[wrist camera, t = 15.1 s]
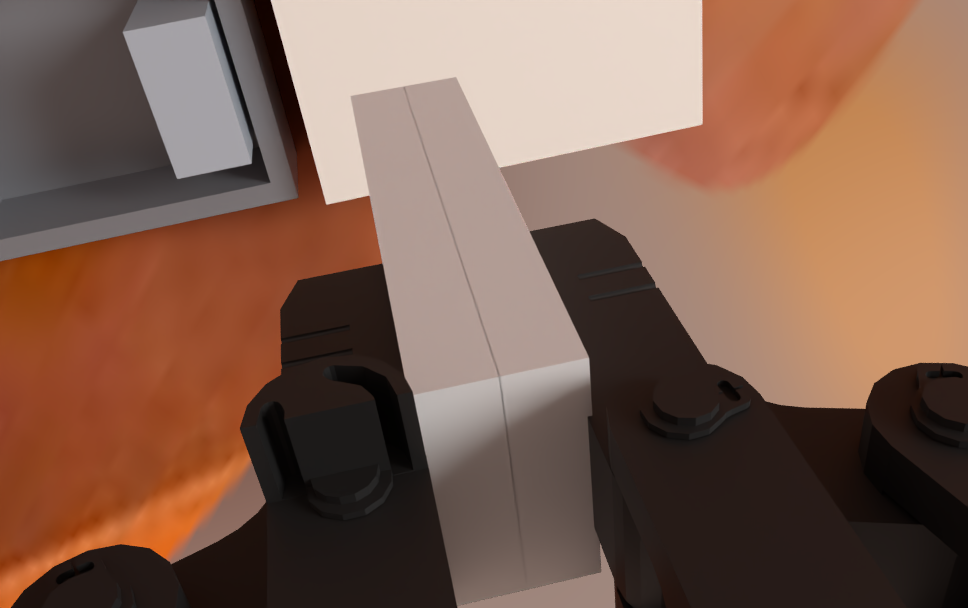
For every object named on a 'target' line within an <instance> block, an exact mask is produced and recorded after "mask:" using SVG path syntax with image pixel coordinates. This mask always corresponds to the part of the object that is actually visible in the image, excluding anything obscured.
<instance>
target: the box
mask: <svg viewBox="0 0 968 608" xmlns="http://www.w3.org/2000/svg"><path fill="white" fill-rule="evenodd" d="M137 1H138V0H0V261H3V260H8V259H12V258H17V257H22V256H26V255H31V254H36V253H41V252H45V251H50V250H55V249H60V248H64V247H69V246H74V245H78V244H83V243H88V242H93V241H97V240H102V239H107V238H111V237H116V236H121V235H126V234H130V233H135V232H140V231H144V230H149V229H154V228H159V227H163V226H168V225H173V224H178V223H182V222H187V221H192V220H196V219H201V218H206V217H211V216H215V215H220V214H225V213H229V212H234V211H239V210H244V209H248V208H253V207H258V206H262V205H267V204H272V203H277V202H281V201H286V200H291V199H296V198H298V173H297V152H296V148H295V145H294V141H293V138H292V134H291V131H290V127H289V124H288V120H287V117H286V113H285V110H284V106H283V102H282V99H281V95H280V92H279V88H278V85H277V81H276V78H275V74H274V71H273V67H272V64H271V60H270V57H269V53H268V49H267V46H266V42H265V39H264V35H263V32H262V28H261V25H260V21H259V18H258V14H257V11H256V7H255V4H254V0H214V1H215V4H216V7H217V10H218V14H219V17H220V20H221V23H222V27H223V30H224V33H225V36H226V40H227V43H228V46H229V49H230V53H231V56H232V59H233V62H234V66H235V69H236V72H237V75H238V79H239V82H240V85H241V88H242V92H243V95H244V98H245V101H246V105H247V108H248V111H249V114H250V118H251V121H252V124H253V127H254V134H253V150H252V164H248V165H243V166H238V167H233V168H228V169H223V170H219V171H214V172H209V173H204V174H199V175H195V176H190V177H185V178H180V179H177V177H176V174H175V172H174V169H173V166H172V164H171V161H170V158H169V156H168V153H167V150H166V148H165V145H164V142H163V139H162V137H161V134H160V131H159V129H158V126H157V123H156V121H155V118H154V115H153V113H152V110H151V107H150V104H149V102H148V99H147V96H146V94H145V91H144V88H143V86H142V83H141V80H140V77H139V75H138V72H137V69H136V67H135V64H134V61H133V59H132V56H131V53H130V51H129V48H128V45H127V42H126V40H125V37H124V34H123V30H124V28H125V26H126V24H127V22H128V20H129V18H130V16H131V14H132V12H133V10H134V7H135V5H136V3H137Z"/></svg>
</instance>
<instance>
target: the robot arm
mask: <svg viewBox="0 0 968 608" xmlns="http://www.w3.org/2000/svg"><path fill="white" fill-rule="evenodd" d="M351 102H352V107H353V112H354V117H355V122H356V127H357V133H358V138H359V143H360V148H361V153H362V159H363V164H364V169H365V174H366V179H367V184H368V190H369V195H370V200H371V205H372V210H373V215H374V221H375V226H376V231H377V236H378V241H379V247H380V252H381V257H382V262H383V264H378V265H373V266H368V267H363V268H358V269H353V270H348V271H343V272H338V273H333V274H328V275H323V276H318V277H313V278H308V279H303V280H298V281H297V283H296V285H295V286H294V288H293V289H292V291H291V293H290V294H289V296H288V298H287V299H286V301H285V302H284V304H283V306H282V307H281V309H280V317H281V341H282V344H281V364H282V369H281V375H280V376H278V377H277V378H275V379H274V380H272V381H270V382H269V383H267V384H266V385H265V386H264V387H263V388H262V389H261V390H260V392H259V393H258V394H257V395H256V396H255V397H254V398H253V399H252V401H251V402H250V403H249V404H248V405H247V408H246V411H245V414H244V417H243V420H242V423H241V426H240V430H241V433H242V436H243V439H244V441H245V444H246V447H247V450H248V453H249V455H250V458H251V461H252V464H253V466H254V469H255V472H256V474H257V477H258V480H259V483H260V486H261V488H262V491H263V494H264V496H265V499H266V503H265V504H264V505H263V507H262V508H261V509H260V510H259V512H258V513H257V514H256V515H254V516H253V517H252V518H251V519H250V520H249V521H247V522H246V523H245V524H244V525H243V526H242V527H240V528H239V529H238V530H236V531H234V532H233V533H231V534H229V535H228V536H226V537H224V538H223V539H221V540H220V541H218V542H216V543H214V544H212V545H210V546H208V547H206V548H204V549H202V550H200V551H198V552H196V553H194V554H192V555H190V556H187V557H185V558H183V559H181V560H179V561H177V562H175V563H173V564H170V562H169V561H167V560H166V559H164V558H163V557H161V556H160V555H159V554H157V553H156V552H154V551H153V550H151V549H150V548H144V547H137V546H129V545H122V544H120V545H115V546H110V547H104V548H99V549H94V550H89V551H86V552H84V553H82V554H80V555H78V556H76V557H73V558H71V559H69V560H67V561H65V562H63V563H61V564H59V565H56V566H54V567H53V568H52V569H50V570H49V571H48V572H47V573H45V574H44V575H43V576H42V577H40V578H39V579H38V580H37V581H35V582H34V583H33V584H32V585H30V586H29V587H28V588H27V589H25V590H24V591H23V593H22V594H21V595H20V596H19V598H18V599H17V600H16V602H15V603H14V604H13V606H12V607H11V608H457V606H459V605H464V604H467V603H472V602H476V601H480V600H485V599H489V598H493V597H498V596H502V595H506V594H510V593H515V592H519V591H523V590H527V589H532V588H536V587H540V586H544V585H549V584H553V583H557V582H561V581H566V580H570V579H574V578H578V577H583V576H587V575H591V574H595V573H600V572H601V559H600V543H601V545H602V549H603V551H604V554H605V557H606V559H607V562H608V564H609V567H610V569H611V572H612V575H613V577H614V586H615V608H968V367H967V366H962V365H958V364H954V363H918V364H914V365H910V366H906V367H902V368H899V369H895V370H892V371H891V372H890V373H888V374H887V375H885V376H884V377H883V378H881V379H880V380H879V381H877V382H876V383H874V385H873V388H872V390H871V393H870V395H869V398H868V400H867V403H866V409H844V408H804V407H794V406H783V405H777V404H773V403H770V402H766V401H765V400H764V399H763V398H762V396H761V395H760V393H758V392H757V391H756V390H755V389H754V388H753V387H752V386H751V385H750V384H749V383H748V382H747V381H746V380H745V379H744V378H743V377H741V376H739V375H736V374H734V373H732V372H730V371H728V370H726V369H724V368H721V367H719V366H717V365H711V364H707V362H706V361H705V360H704V358H703V356H702V355H701V353H700V352H699V350H698V349H697V347H696V345H695V344H694V342H693V341H692V339H691V338H690V336H689V335H688V333H687V332H686V330H685V328H684V327H683V325H682V324H681V322H680V321H679V319H678V317H677V316H676V314H675V313H674V311H673V310H672V308H671V307H670V305H669V303H668V302H667V300H666V299H665V297H664V296H663V295H662V293H661V291H660V290H659V288H656V286H655V282H654V280H653V279H652V277H651V275H650V274H649V273H648V271H647V269H646V268H645V267H643V266H642V262H641V260H640V258H639V257H638V255H637V254H636V252H635V251H634V249H633V248H632V246H631V244H630V243H629V242H628V240H627V238H626V237H625V236H623V235H621V234H620V233H618V232H617V231H615V230H613V229H612V228H610V227H608V226H606V225H605V224H603V223H601V222H600V221H598V220H596V219H590V220H585V221H580V222H575V223H570V224H565V225H560V226H555V227H550V228H545V229H540V230H534V231H529V230H528V228H527V226H526V224H525V221H524V219H523V217H522V215H521V214H520V211H519V209H518V207H517V205H516V202H515V200H514V198H513V196H512V194H511V192H510V190H509V188H508V186H507V183H506V181H505V179H504V177H503V175H502V173H501V171H500V169H499V166H498V164H497V162H496V160H495V158H494V156H493V154H492V152H491V150H490V147H489V145H488V143H487V141H486V139H485V137H484V135H483V133H482V131H481V128H480V126H479V124H478V122H477V120H476V118H475V116H474V114H473V112H472V109H471V107H470V105H469V103H468V101H467V99H466V97H465V95H464V93H463V90H462V88H461V86H460V84H459V82H458V80H457V78H456V77H453V78H448V79H442V80H437V81H431V82H425V83H420V84H414V85H409V86H403V87H398V88H392V89H387V90H381V91H375V92H370V93H364V94H359V95H353V96H351Z"/></svg>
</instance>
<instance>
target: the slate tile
mask: <svg viewBox="0 0 968 608" xmlns="http://www.w3.org/2000/svg"><path fill="white" fill-rule="evenodd" d="M123 34H124V37H125V40H126V42H127V45H128V48H129V51H130V53H131V56H132V59H133V61H134V64H135V67H136V69H137V72H138V75H139V77H140V80H141V83H142V86H143V88H144V91H145V94H146V96H147V99H148V102H149V104H150V107H151V110H152V113H153V115H154V118H155V121H156V123H157V126H158V129H159V131H160V134H161V137H162V139H163V142H164V145H165V148H166V150H167V153H168V156H169V158H170V161H171V164H172V166H173V169H174V172H175V174H176V177H177V179H180V178H185V177H190V176H195V175H199V174H204V173H209V172H214V171H219V170H223V169H228V168H233V167H238V166H243V165H248V164H252V150H253V134H254V127H253V124H252V121H251V118H250V114H249V111H248V108H247V105H246V101H245V98H244V95H243V92H242V88H241V85H240V82H239V79H238V75H237V72H236V69H235V66H234V62H233V59H232V56H231V53H230V49H229V46H228V43H227V40H226V36H225V33H224V30H223V27H222V23H221V20H220V17H219V14H218V10H217V7H216V4H215V1H214V0H138V1H137V3H136V5H135V7H134V10H133V12H132V14H131V16H130V18H129V20H128V22H127V24H126V26H125V28H124V30H123Z"/></svg>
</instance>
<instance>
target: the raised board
mask: <svg viewBox="0 0 968 608" xmlns="http://www.w3.org/2000/svg"><path fill="white" fill-rule="evenodd" d="M271 3H272V6H273V10H274V14H275V17H276V21H277V25H278V28H279V32H280V36H281V39H282V43H283V47H284V50H285V54H286V58H287V61H288V65H289V69H290V72H291V76H292V80H293V83H294V87H295V91H296V95H297V98H298V102H299V106H300V109H301V113H302V117H303V120H304V124H305V128H306V131H307V135H308V139H309V142H310V146H311V150H312V153H313V157H314V161H315V164H316V168H317V172H318V175H319V179H320V183H321V186H322V190H323V194H324V197H325V201H326V205H327V204H332V203H336V202H341V201H346V200H350V199H355V198H360V197H364V196H369V190H368V184H367V179H366V174H365V169H364V164H363V159H362V153H361V148H360V143H359V138H358V133H357V127H356V122H355V117H354V112H353V107H352V102H351V96H353V95H359V94H364V93H370V92H375V91H381V90H387V89H392V88H398V87H403V86H409V85H414V84H420V83H425V82H431V81H437V80H442V79H448V78H453V77H456V78H457V80H458V82H459V84H460V86H461V88H462V90H463V93H464V95H465V97H466V99H467V101H468V103H469V105H470V107H471V109H472V112H473V114H474V116H475V118H476V120H477V122H478V124H479V126H480V128H481V131H482V133H483V135H484V137H485V139H486V141H487V143H488V145H489V147H490V150H491V152H492V154H493V156H494V158H495V160H496V162H497V164H498V166H499V168H500V167H505V166H510V165H515V164H520V163H524V162H528V161H534V160H538V159H543V158H548V157H552V156H557V155H561V154H566V153H571V152H576V151H580V150H585V149H590V148H595V147H599V146H604V145H609V144H613V143H618V142H623V141H628V140H632V139H637V138H642V137H646V136H651V135H656V134H660V133H665V132H670V131H675V130H679V129H684V128H689V127H693V126H698V125H702V0H271Z"/></svg>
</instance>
